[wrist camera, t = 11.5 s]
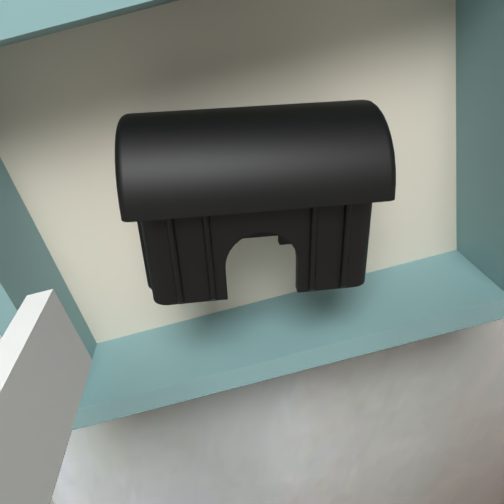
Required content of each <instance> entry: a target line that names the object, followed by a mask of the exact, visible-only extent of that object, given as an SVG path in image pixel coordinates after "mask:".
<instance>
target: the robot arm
mask: <svg viewBox="0 0 504 504" xmlns="http://www.w3.org/2000/svg"><path fill="white" fill-rule="evenodd" d="M91 364H92V359H91V357H90V355H89V353H88V351H87V349H86V348H85V346H84V344H83V342H82V340H81V339H80V337H79V335H78V333H77V331H76V329H75V328H74V326H73V324H72V322H71V320H70V318H69V317H68V315H67V313H66V311H65V309H64V307H63V306H62V304H61V302H60V300H59V298H58V297H57V295H56V293H55V291H54V289H50V290H46V291H42V292H39V293H35V294H31V295H27V296H26V298H25V299H24V301H23V303H22V304H21V306H20V308H19V309H18V311H17V313H16V315H15V316H14V318H13V320H12V321H11V323H10V325H9V326H8V328H7V330H6V331H5V333H4V335H3V336H2V338H1V340H0V504H50V502H51V499H52V495H53V492H54V489H55V485H56V482H57V478H58V475H59V472H60V468H61V465H62V462H63V458H64V455H65V451H66V448H67V445H68V441H69V438H70V435H71V431H72V428H73V424H74V421H75V418H76V414H77V411H78V408H79V404H80V401H81V398H82V394H83V391H84V387H85V384H86V381H87V377H88V374H89V371H90V367H91Z"/></svg>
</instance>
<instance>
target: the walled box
mask: <svg viewBox="0 0 504 504" xmlns="http://www.w3.org/2000/svg"><path fill="white" fill-rule="evenodd" d="M346 100H369V101H371V102H373V103H374V104H376V105H377V106H378V107H379V109H380V110H381V112H382V113H383V114H384V117H385V119H386V121H387V123H388V126H389V130H390V133H391V137H392V141H393V147H394V153H395V164H396V191H395V200H393V201H388V202H375V203H372V212H371V222H370V233H369V243H368V253H367V264H366V274H365V282H364V283H363V284H362V285H360V286H358V287H351V288H340V289H330V290H320V291H310V292H299V293H298V292H297V290H296V287H295V285H296V254H295V249H294V247H293V245H292V244H286V245H279V243H278V236H267V237H256V238H244V239H241V240H240V241H239V242H237V243H236V244H235V245H234V246H233V248H232V249H231V250H230V252H229V254H228V256H227V260H226V280H227V294H228V299H227V300H217V301H206V302H196V303H186V304H176V305H160V304H157V303H156V302H155V301H154V299H153V293H152V289H150V288H149V286H148V282H147V277H146V271H145V265H144V259H143V254H142V248H141V242H140V236H139V230H138V225H137V222H123V221H122V220H121V215H120V209H119V202H118V195H117V186H116V174H115V134H116V128H117V124H118V122H119V119H120V118H121V117H122V116H123V115H125V114H128V113H145V112H162V111H179V110H195V109H212V108H229V107H246V106H263V105H279V104H296V103H313V102H330V101H346ZM50 289H54V291H55V293H56V295H57V297H58V298H59V300H60V302H61V304H62V306H63V307H64V309H65V311H66V313H67V315H68V317H69V318H70V320H71V322H72V324H73V326H74V328H75V329H76V331H77V333H78V335H79V337H80V339H81V340H82V342H83V344H84V346H85V348H86V349H87V351H88V353H89V355H90V357H91V359H92V364H91V367H90V371H89V374H88V377H87V381H86V384H85V387H84V391H83V394H82V398H81V401H80V404H79V408H78V411H77V414H76V418H75V421H74V424H73V428H72V430H75V429H79V428H83V427H87V426H91V425H95V424H98V423H102V422H106V421H110V420H114V419H118V418H122V417H125V416H129V415H133V414H137V413H141V412H145V411H149V410H152V409H156V408H160V407H164V406H168V405H172V404H176V403H179V402H183V401H187V400H191V399H195V398H199V397H202V396H206V395H210V394H214V393H218V392H222V391H226V390H229V389H233V388H237V387H241V386H245V385H249V384H253V383H256V382H260V381H264V380H268V379H272V378H276V377H280V376H283V375H287V374H291V373H295V372H299V371H303V370H306V369H310V368H314V367H318V366H322V365H326V364H330V363H333V362H337V361H341V360H345V359H349V358H353V357H357V356H360V355H364V354H368V353H372V352H376V351H380V350H384V349H387V348H391V347H395V346H399V345H403V344H407V343H410V342H414V341H418V340H422V339H426V338H430V337H434V336H437V335H441V334H445V333H449V332H453V331H457V330H461V329H464V328H468V327H472V326H476V325H480V324H484V323H487V322H491V321H495V320H499V319H503V318H504V0H0V335H1V336H3V335H4V333H5V331H6V330H7V328H8V326H9V325H10V323H11V321H12V320H13V318H14V316H15V315H16V313H17V311H18V309H19V308H20V306H21V304H22V303H23V301H24V299H25V298H26V296H27V295H31V294H35V293H39V292H42V291H46V290H50Z"/></svg>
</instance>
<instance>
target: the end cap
mask: <svg viewBox="0 0 504 504" xmlns="http://www.w3.org/2000/svg"><path fill="white" fill-rule="evenodd" d="M115 174H116V186H117V195H118V202H119V209H120V215H121V220H122V221H123V222H137V225H138V230H139V236H140V242H141V248H142V254H143V259H144V265H145V271H146V277H147V282H148V286H149V288H150V289H152V293H153V299H154V301H155V302H156V303H157V304H160V305H176V304H186V303H196V302H206V301H217V300H227V299H228V294H227V280H226V260H227V256H228V254H229V252H230V250H231V249H232V248H233V246H234V245H235V244H236V243H237V242H239V241H240V240H241V239H244V238H256V237H267V236H278V243H279V245H286V244H292V245H293V247H294V249H295V254H296V285H295V287H296V290H297V292H298V293H299V292H310V291H320V290H330V289H340V288H351V287H358V286H360V285H362V284H363V283H364V282H365V274H366V264H367V253H368V243H369V233H370V222H371V212H372V203H375V202H388V201H393V200H395V191H396V164H395V153H394V147H393V141H392V137H391V133H390V130H389V126H388V123H387V121H386V119H385V117H384V114H383V113H382V112H381V110H380V109H379V107H378V106H377V105H376V104H374V103H373V102H371V101H369V100H346V101H330V102H313V103H296V104H279V105H263V106H246V107H229V108H212V109H195V110H179V111H162V112H145V113H128V114H125V115H123V116H122V117H121V118H120V119H119V122H118V124H117V128H116V134H115Z"/></svg>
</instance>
